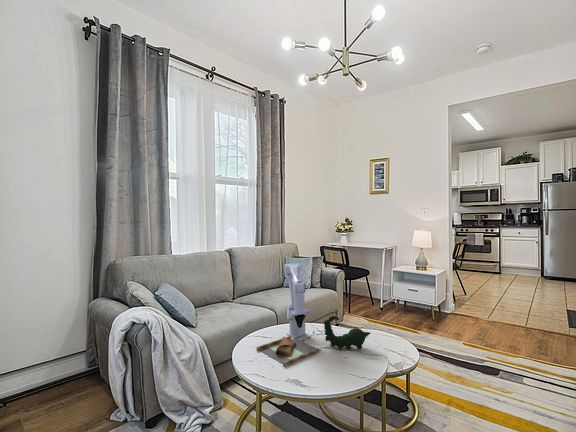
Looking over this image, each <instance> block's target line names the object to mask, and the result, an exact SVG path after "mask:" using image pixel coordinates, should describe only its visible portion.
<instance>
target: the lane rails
mask: <svg viewBox="0 0 576 432" xmlns="http://www.w3.org/2000/svg"><path fill="white" fill-rule="evenodd" d="M285 337H286V338H287V339H289V340H291V339H292V336H290V335H287V336H285ZM282 339H283V337H282V338H279V339H276V340H272V341H270V342H267V343H265V344H261V345H258V346H256V351H257V352H260V351H259V350H262V349H265V348H268V347H271V346H274V345H277V344H279V343H280V342H281V340H282ZM316 348H317V349H315V350H312V351H310V352H307V353H305V354H302V355H299V356H297V357H294V358H292V359H289V360H287V361H284V362H283V364H282V366H283V367H287V366H290V365H293V364H295V363H297V362H300V361H302V360H304V359H307V358H310V357H311V356H314V355H317V354H319V353H320V351H319V348H318V347H316ZM316 353H317V354H316Z"/></svg>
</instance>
